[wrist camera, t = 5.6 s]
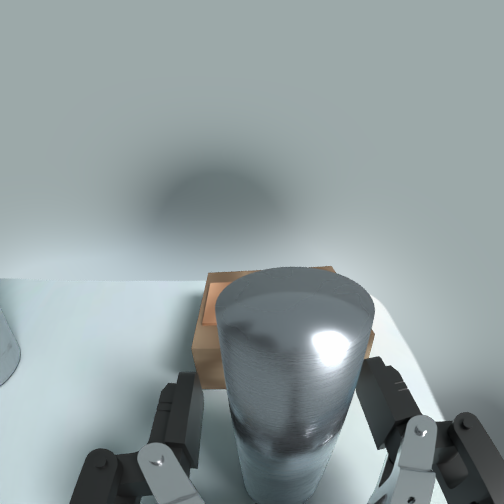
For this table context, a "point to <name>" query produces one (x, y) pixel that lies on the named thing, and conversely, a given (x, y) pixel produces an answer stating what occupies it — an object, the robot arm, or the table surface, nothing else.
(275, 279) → the barrel peg
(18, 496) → the table surface
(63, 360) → the table surface
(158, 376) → the table surface
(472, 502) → the robot arm
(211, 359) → the block
